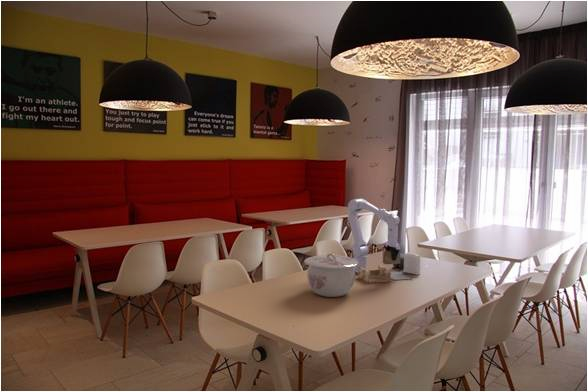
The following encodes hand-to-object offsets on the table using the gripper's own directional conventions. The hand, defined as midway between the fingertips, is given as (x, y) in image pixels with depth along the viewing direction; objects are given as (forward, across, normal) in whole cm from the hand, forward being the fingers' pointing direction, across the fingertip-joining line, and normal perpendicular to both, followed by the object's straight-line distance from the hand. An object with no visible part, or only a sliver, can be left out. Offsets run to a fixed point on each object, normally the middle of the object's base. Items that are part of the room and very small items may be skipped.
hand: (391, 259), depth 266 cm
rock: (+11, +21, -21) cm, 32 cm away
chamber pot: (+11, -19, +45) cm, 50 cm away
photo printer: (+11, +5, -16) cm, 20 cm away
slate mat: (+10, 0, -4) cm, 11 cm away
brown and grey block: (+2, 0, 0) cm, 2 cm away
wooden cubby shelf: (+10, -1, +11) cm, 15 cm away
